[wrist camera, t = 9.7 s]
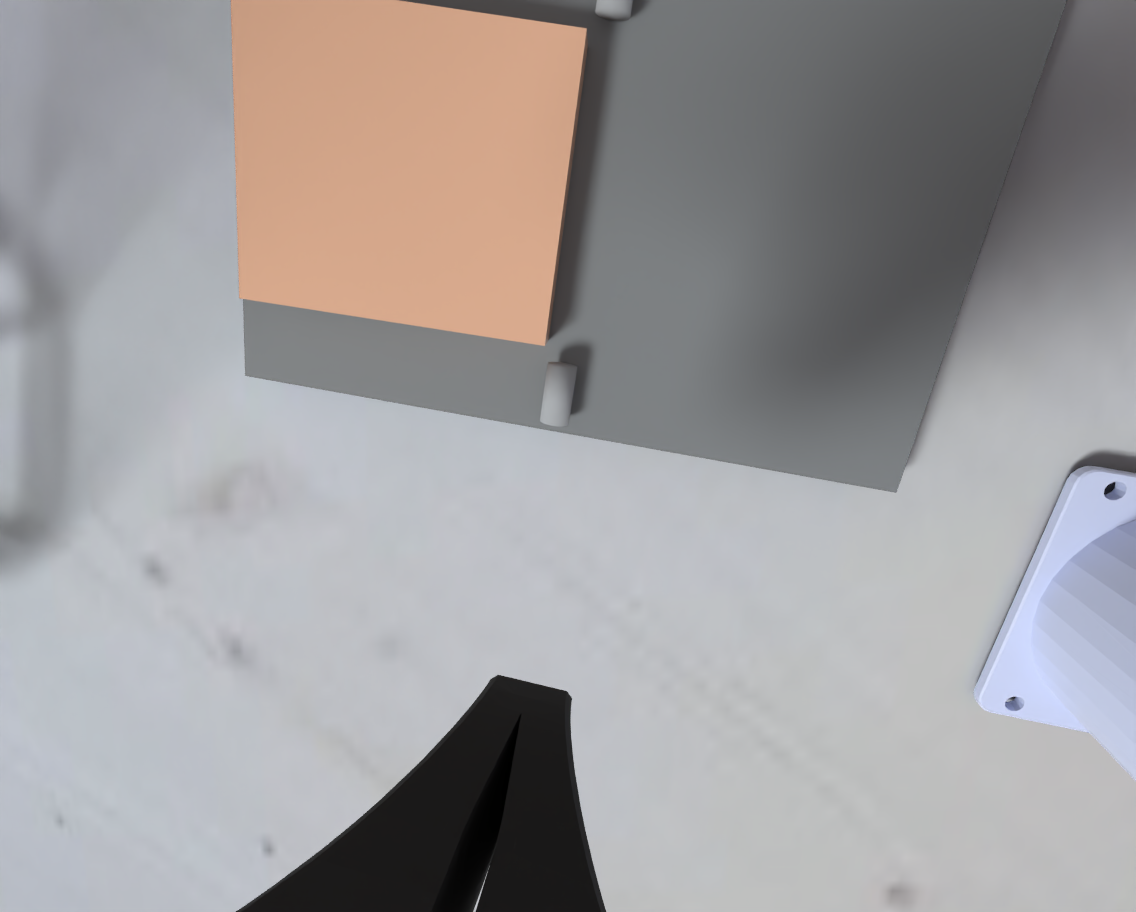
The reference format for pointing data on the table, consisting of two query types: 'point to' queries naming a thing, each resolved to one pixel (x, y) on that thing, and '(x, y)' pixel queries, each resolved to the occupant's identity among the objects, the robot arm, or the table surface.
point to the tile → (404, 161)
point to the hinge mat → (736, 234)
